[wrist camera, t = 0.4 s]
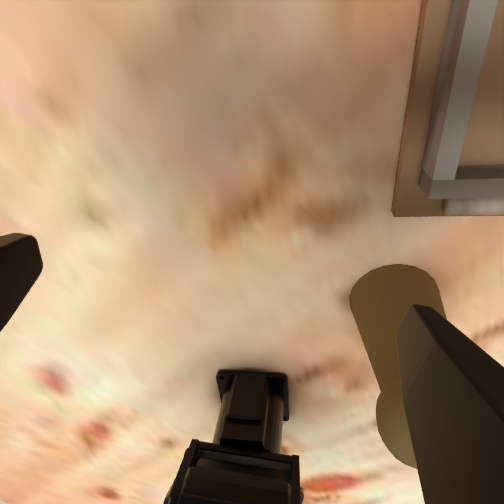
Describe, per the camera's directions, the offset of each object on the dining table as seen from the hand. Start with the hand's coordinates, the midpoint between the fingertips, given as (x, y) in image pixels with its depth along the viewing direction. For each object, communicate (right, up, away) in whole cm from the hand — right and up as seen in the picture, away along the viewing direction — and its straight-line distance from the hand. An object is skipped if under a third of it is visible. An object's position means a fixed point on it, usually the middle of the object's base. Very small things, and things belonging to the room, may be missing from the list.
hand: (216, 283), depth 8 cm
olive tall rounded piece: (+11, -3, +17) cm, 20 cm away
